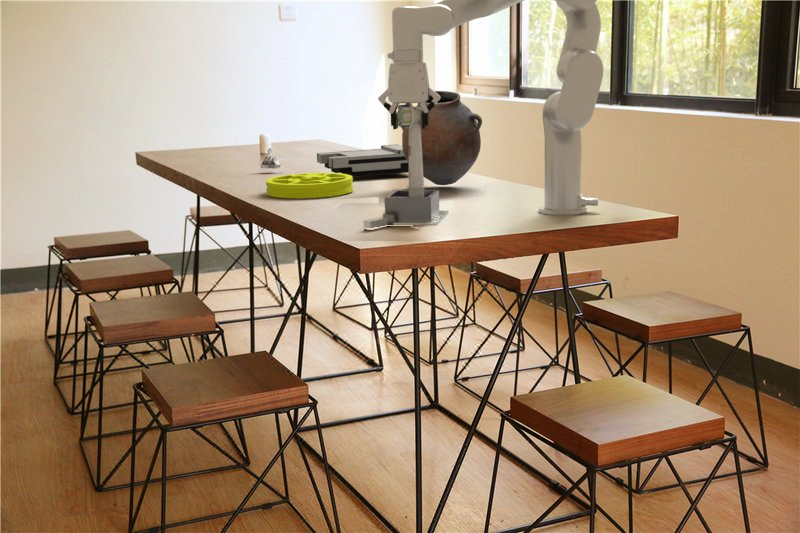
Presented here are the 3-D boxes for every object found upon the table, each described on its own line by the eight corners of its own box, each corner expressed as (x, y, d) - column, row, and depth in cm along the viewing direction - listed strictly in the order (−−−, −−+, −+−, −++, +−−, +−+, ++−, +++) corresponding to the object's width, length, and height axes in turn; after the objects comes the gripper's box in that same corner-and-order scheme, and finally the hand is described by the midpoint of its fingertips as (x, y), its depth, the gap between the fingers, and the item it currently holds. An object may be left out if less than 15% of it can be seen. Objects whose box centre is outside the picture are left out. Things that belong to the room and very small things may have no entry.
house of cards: (291, 166, 372) (290, 146, 371) (279, 168, 365) (277, 149, 363) (272, 165, 376) (271, 146, 375) (260, 168, 369) (258, 148, 367)
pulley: (344, 183, 322) (343, 168, 321) (360, 194, 296) (360, 178, 294) (262, 188, 316) (261, 173, 314) (271, 200, 289) (270, 184, 288)
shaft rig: (452, 210, 260) (451, 185, 259) (433, 231, 232) (432, 203, 230) (389, 210, 264) (388, 185, 262) (362, 230, 236) (361, 203, 234)
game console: (317, 172, 352) (316, 149, 350) (398, 165, 362) (397, 144, 361) (333, 178, 333) (332, 155, 331) (418, 171, 343) (417, 149, 342)
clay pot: (402, 192, 295) (399, 94, 288) (400, 181, 319) (397, 90, 312) (485, 189, 295) (484, 91, 288) (477, 178, 320) (475, 88, 313)
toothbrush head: (428, 200, 246) (428, 103, 240) (405, 202, 243) (404, 104, 237) (419, 197, 250) (419, 101, 244) (396, 199, 247) (395, 102, 241)
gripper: (371, 58, 236) (373, 130, 241) (439, 56, 233) (441, 129, 237) (378, 58, 244) (380, 127, 248) (444, 56, 240) (446, 127, 244)
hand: (410, 128), depth 242 cm, fingers closed on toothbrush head, 6 cm apart
